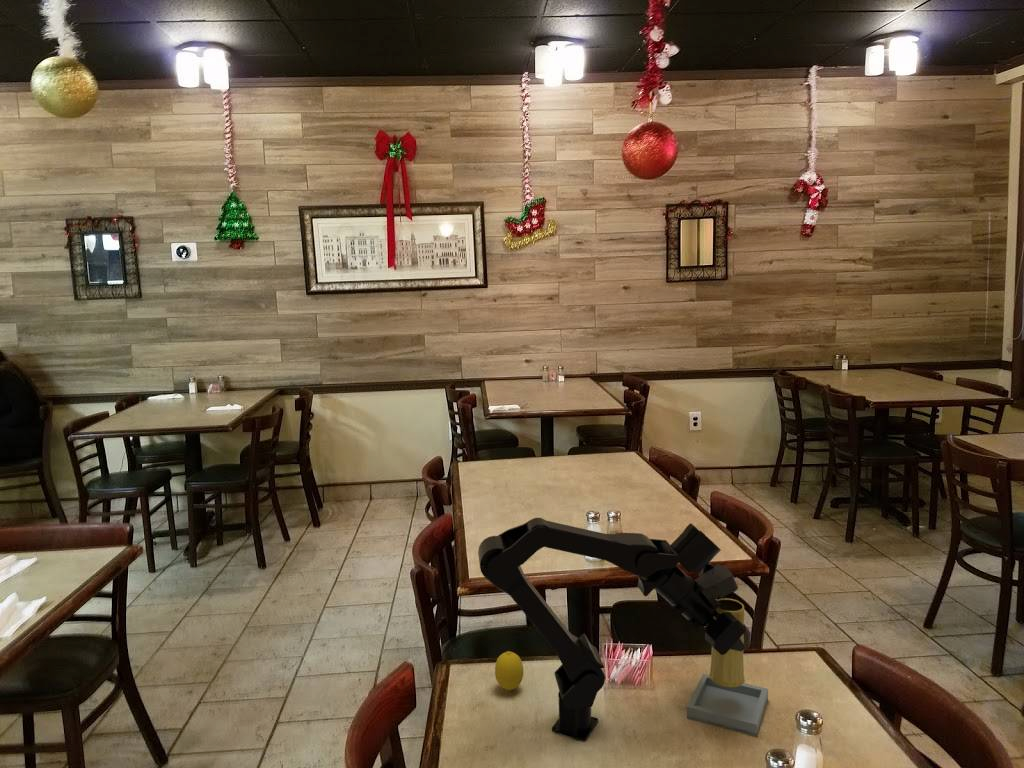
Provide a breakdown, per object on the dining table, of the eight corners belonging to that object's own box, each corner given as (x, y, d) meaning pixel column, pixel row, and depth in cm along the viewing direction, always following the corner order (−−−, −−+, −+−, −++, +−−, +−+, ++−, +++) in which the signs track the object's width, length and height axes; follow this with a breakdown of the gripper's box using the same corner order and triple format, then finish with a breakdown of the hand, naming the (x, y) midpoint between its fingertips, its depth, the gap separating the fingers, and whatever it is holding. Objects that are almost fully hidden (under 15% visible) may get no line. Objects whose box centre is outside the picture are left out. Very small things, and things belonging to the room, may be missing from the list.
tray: (756, 736, 119) (756, 724, 119) (686, 718, 125) (686, 706, 125) (767, 699, 130) (768, 688, 130) (702, 684, 136) (703, 673, 135)
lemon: (507, 679, 140) (506, 641, 139) (529, 688, 136) (528, 650, 135) (489, 692, 135) (488, 653, 134) (511, 701, 132) (510, 662, 131)
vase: (723, 665, 131) (725, 594, 129) (751, 680, 126) (754, 606, 124) (702, 676, 128) (704, 603, 125) (730, 692, 123) (732, 616, 121)
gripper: (736, 576, 114) (795, 632, 117) (685, 537, 132) (738, 586, 135) (690, 627, 113) (751, 682, 117) (646, 581, 131) (699, 629, 135)
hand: (734, 641), depth 126 cm, fingers closed on vase, 5 cm apart
